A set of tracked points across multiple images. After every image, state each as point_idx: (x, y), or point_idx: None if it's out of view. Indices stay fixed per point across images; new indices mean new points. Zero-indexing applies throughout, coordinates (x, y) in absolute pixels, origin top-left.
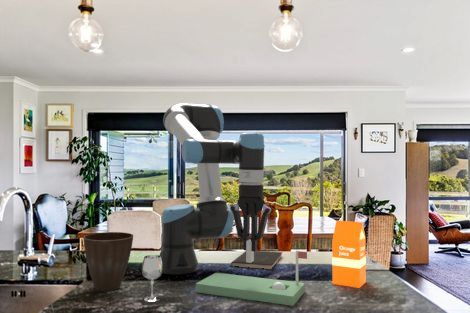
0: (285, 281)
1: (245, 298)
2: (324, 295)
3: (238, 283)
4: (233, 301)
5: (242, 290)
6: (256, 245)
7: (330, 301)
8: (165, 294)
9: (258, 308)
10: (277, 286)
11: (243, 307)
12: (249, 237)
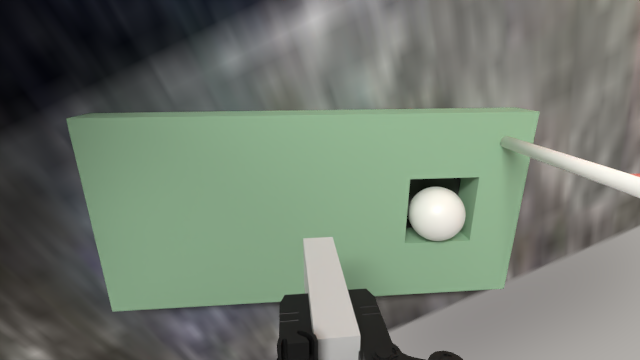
0: (452, 124)
1: None
2: (587, 125)
3: (270, 238)
4: None
5: None
6: (381, 323)
7: None
8: (53, 350)
9: (393, 329)
10: (442, 240)
11: None
12: (317, 357)
